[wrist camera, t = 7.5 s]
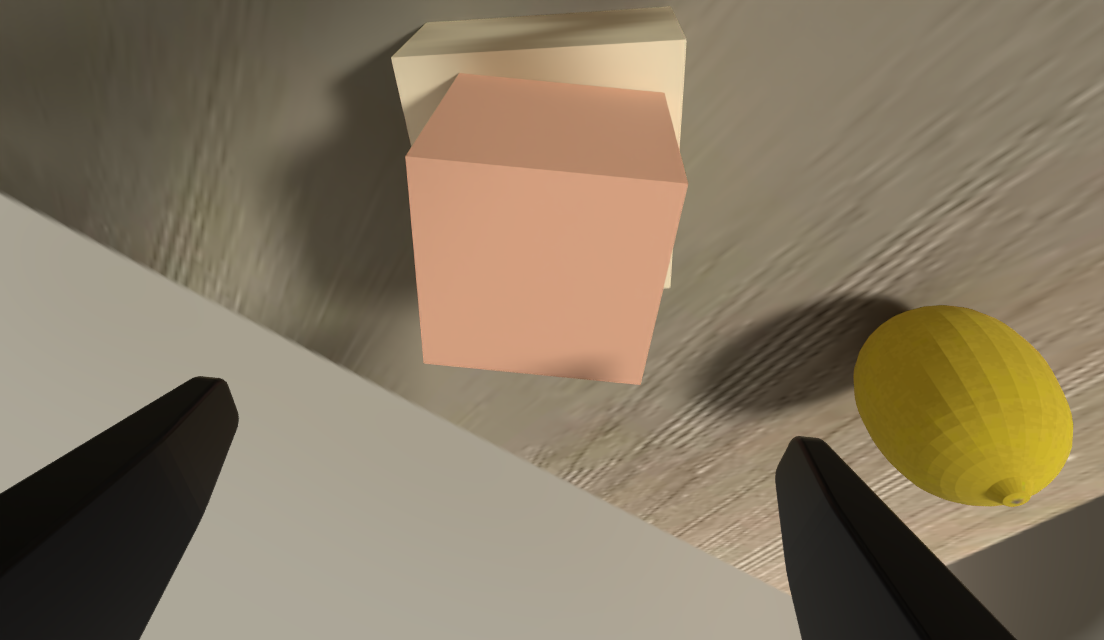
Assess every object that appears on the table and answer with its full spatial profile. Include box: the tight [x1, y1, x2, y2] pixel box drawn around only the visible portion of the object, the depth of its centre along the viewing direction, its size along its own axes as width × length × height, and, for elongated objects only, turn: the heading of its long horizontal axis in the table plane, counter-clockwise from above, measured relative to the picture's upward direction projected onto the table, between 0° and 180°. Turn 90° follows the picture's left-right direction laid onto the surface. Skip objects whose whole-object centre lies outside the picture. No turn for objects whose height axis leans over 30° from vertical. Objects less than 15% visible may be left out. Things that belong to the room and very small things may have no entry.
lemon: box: [854, 305, 1073, 507], centre depth 20 cm, size 6×6×8 cm
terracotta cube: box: [405, 73, 688, 385], centre depth 14 cm, size 5×5×5 cm
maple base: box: [391, 7, 687, 288], centre depth 17 cm, size 7×7×4 cm
